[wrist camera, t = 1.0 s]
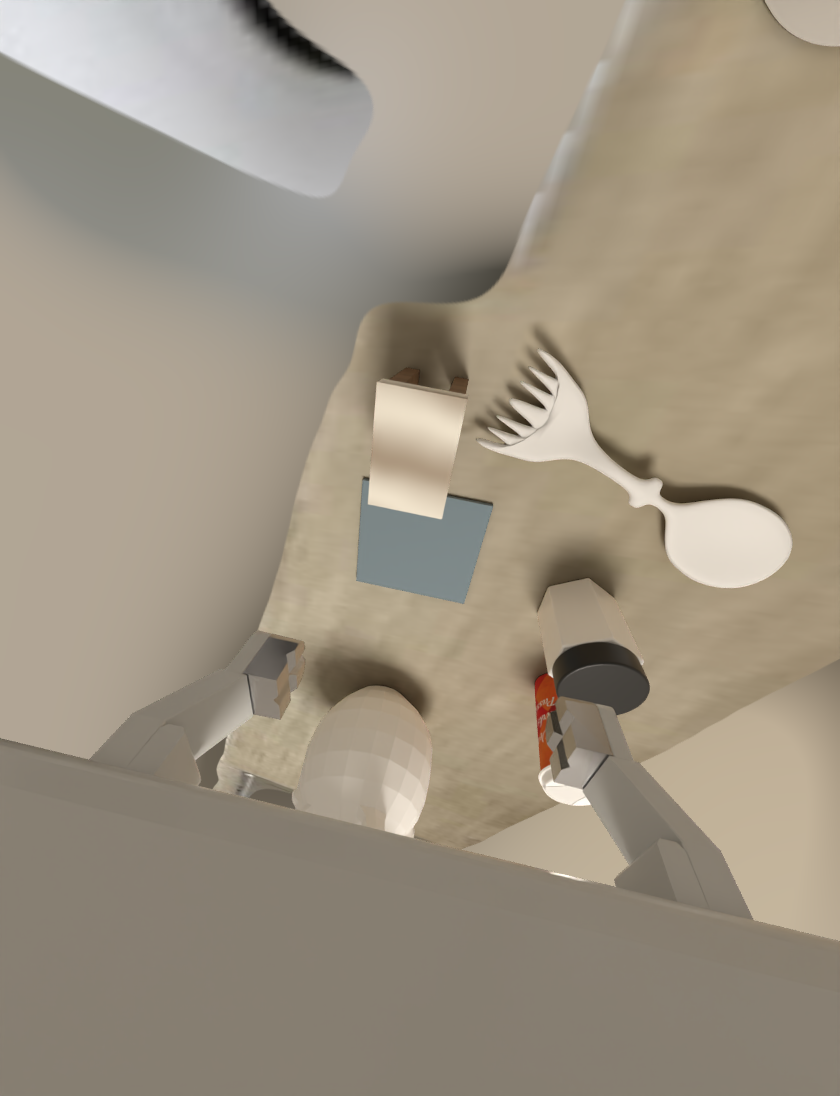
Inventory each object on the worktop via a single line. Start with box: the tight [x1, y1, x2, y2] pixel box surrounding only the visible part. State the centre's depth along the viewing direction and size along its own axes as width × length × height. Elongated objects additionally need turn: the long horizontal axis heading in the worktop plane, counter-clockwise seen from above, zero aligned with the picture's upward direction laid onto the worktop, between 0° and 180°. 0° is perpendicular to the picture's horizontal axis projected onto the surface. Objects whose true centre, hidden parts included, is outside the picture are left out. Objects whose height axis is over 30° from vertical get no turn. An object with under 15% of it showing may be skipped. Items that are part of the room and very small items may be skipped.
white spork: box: [476, 348, 792, 588], centre depth 33 cm, size 9×32×4 cm, turn 60°
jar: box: [537, 578, 650, 715], centre depth 38 cm, size 9×8×12 cm
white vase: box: [292, 685, 432, 838], centre depth 50 cm, size 19×18×25 cm
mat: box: [356, 478, 493, 604], centre depth 41 cm, size 14×14×1 cm
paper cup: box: [535, 673, 591, 806], centre depth 45 cm, size 8×8×14 cm
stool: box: [368, 368, 469, 519], centre depth 30 cm, size 9×6×10 cm, turn 171°
